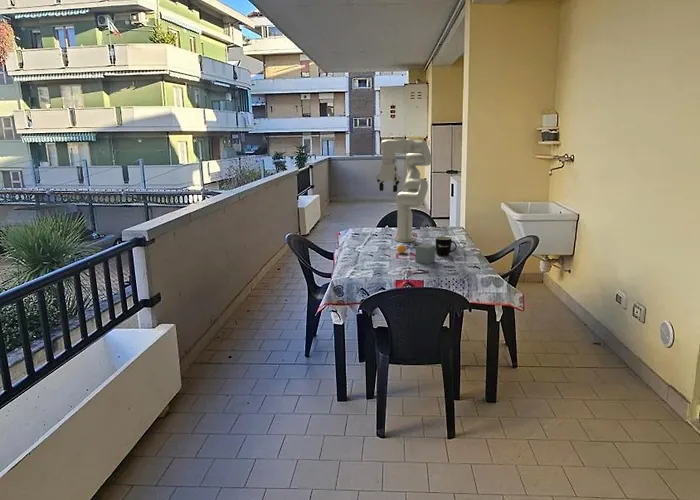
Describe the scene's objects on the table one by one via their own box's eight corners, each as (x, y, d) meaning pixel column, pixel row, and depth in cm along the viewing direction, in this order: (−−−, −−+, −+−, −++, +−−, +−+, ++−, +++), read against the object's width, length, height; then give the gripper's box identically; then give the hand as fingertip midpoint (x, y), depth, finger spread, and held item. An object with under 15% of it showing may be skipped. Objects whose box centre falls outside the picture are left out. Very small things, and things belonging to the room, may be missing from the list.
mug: (434, 256, 285) (435, 239, 282) (435, 252, 293) (436, 235, 291) (456, 257, 282) (456, 240, 280) (456, 253, 291) (457, 236, 288)
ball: (400, 251, 296) (400, 243, 295) (407, 253, 293) (407, 244, 292) (395, 253, 292) (395, 245, 291) (402, 254, 289) (402, 246, 288)
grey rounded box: (422, 258, 280) (422, 243, 278) (434, 261, 276) (435, 245, 273) (415, 261, 274) (415, 246, 272) (427, 264, 270) (428, 248, 267)
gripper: (404, 162, 288) (404, 191, 292) (380, 161, 299) (379, 189, 303) (397, 162, 283) (396, 193, 287) (372, 161, 293) (372, 190, 297)
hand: (388, 191), depth 295 cm, fingers open, 9 cm apart
